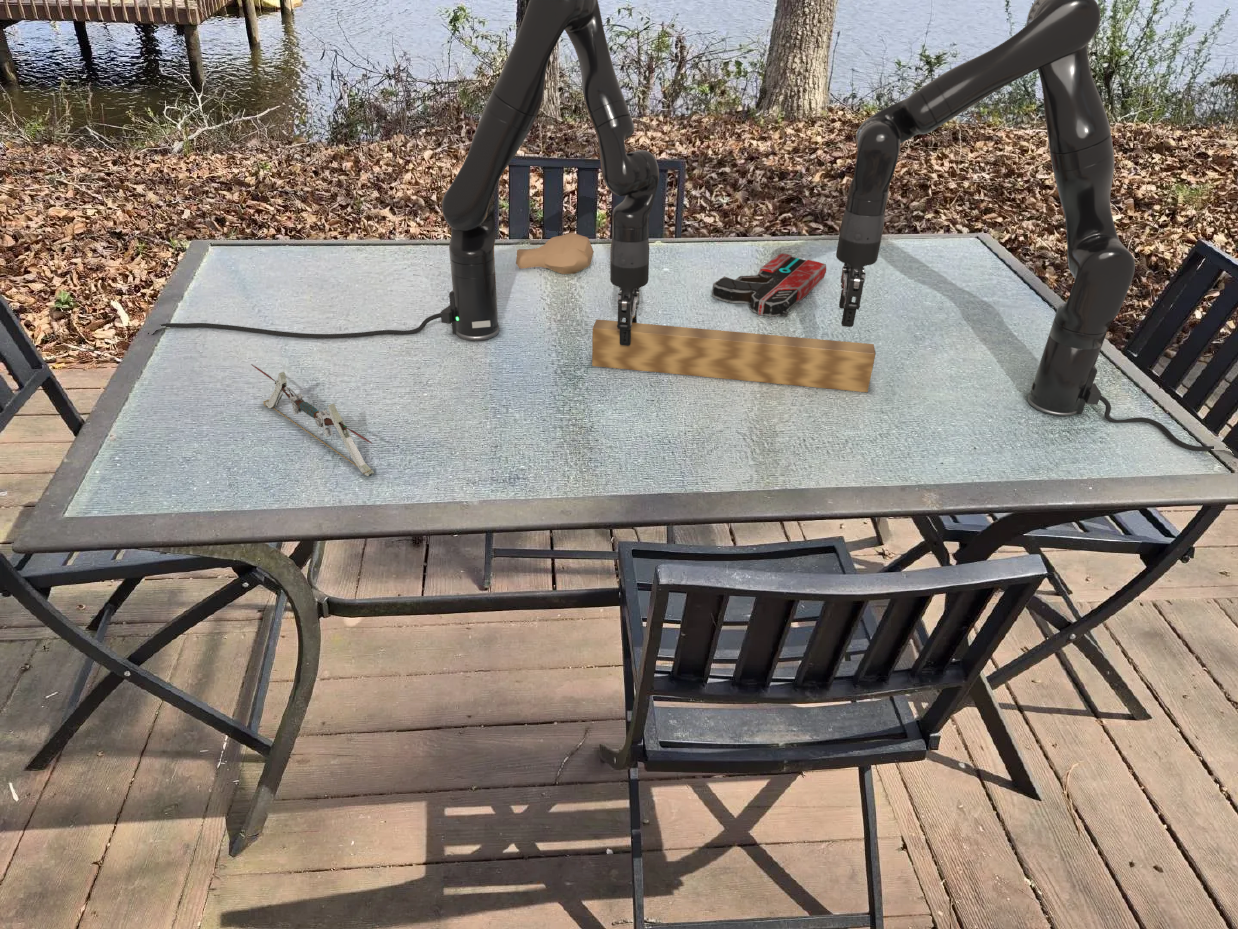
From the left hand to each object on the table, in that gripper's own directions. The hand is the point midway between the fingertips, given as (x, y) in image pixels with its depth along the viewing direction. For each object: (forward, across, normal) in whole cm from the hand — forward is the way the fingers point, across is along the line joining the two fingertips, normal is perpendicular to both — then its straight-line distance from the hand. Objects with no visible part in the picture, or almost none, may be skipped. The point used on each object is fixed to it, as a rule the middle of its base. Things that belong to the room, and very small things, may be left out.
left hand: (628, 335), depth 179 cm
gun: (+7, +45, -29) cm, 54 cm away
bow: (+6, -39, +50) cm, 64 cm away
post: (+7, -1, -21) cm, 22 cm away
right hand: (-8, -1, -42) cm, 43 cm away
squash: (+6, +48, +26) cm, 55 cm away
